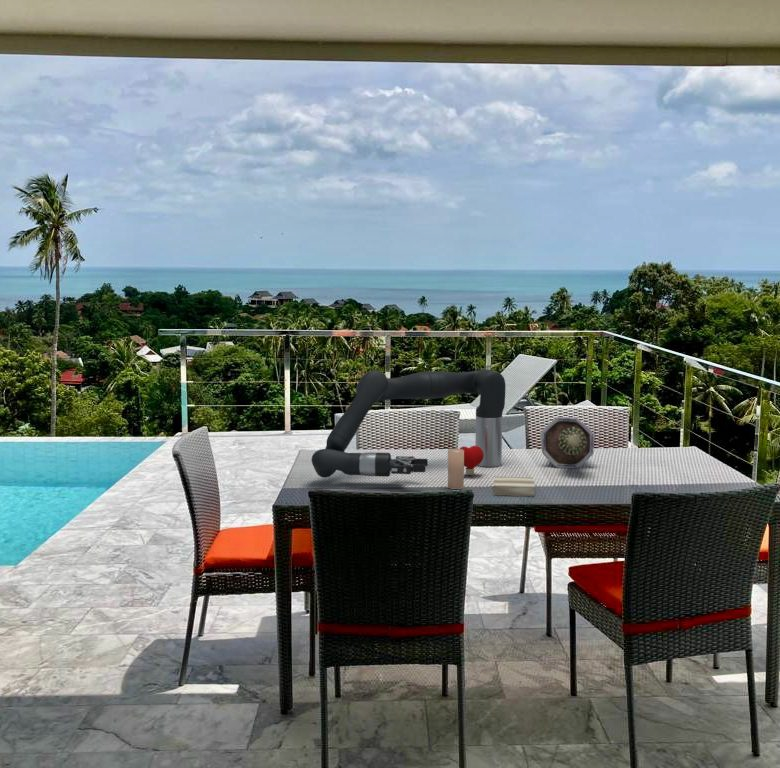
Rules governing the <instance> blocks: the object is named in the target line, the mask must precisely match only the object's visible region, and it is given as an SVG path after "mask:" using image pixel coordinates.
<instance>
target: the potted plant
mask: <svg viewBox="0 0 780 768" xmlns="http://www.w3.org/2000/svg"><path fill="white" fill-rule="evenodd" d="M540 435H541V436H540V439H541V453H542V454H543V456H544V457H545V458H546V459H547V461H549V462H550V463H551V464H552V465H553V466H554V467H555V468H557V467H558V469H579V468H581V467H582V466H583V465H584V464H585V463H586V462H587V461H589V460H590V458H591V457H592V456H593V455H594V444H595V443H594V433H593V431H592V430H591V429H590V428H589V427H588V426H587V425H586V424H585V423H584V422H582V421H581V420H580V419H579V418H576V417H562V416H561V417H560V416H559V417H558V416H557V417H555V418H554V419H553V420H551V421H550V423H549V424H547V425H546V426H545V427H544V428H543V429H542V430H541V434H540Z"/></svg>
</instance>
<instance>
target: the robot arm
mask: <svg viewBox="0 0 780 768" xmlns="http://www.w3.org/2000/svg"><path fill="white" fill-rule="evenodd" d="M506 386H507V385H506V380H505V377H504V376H503V375H502V373H500V372H498V371H495V370H491V369H479V370H472V371H465V372H456V371H455V372H454V371H439V370H438V371H437V370H436V371H420V372H416V373H415V372H414V373H411V374H406V375H404V376H400V377H393V378H392V377H389V378H388V377H387V375H386V374H385V373H384V372H382V370H381V371H380V370H378V369H372V370H369V371H367V372H365V373H364V374H363V375H362V377H361V378H360V380H359V381H358V383H356V387H355V388H356V391H355V392H356V394H355V395H354V398H353V399H352V401H351V403H350V404H349V406H348V407H347V408H346V410H345V412H343V414H342V415H341V416H340V418H339V419H338V421H337V422H336V424H335V425H334V427H333V429H332V430H331V431H330V433H329V434H328V436H327V439H326V445H325V448H322V449H321V448H320V449H318V450H316V451H315V452H314V453H313V454H312V457H311V464H312V466H313V469H314V471H315V473H316V474H317V475H318V477H320V478H324V479H325V478H330V477H331V476H332V475H334V474H335V473H336V471H340V472H342V473H343V474H345V475H348V476H364V477H384V478H385V477H390V476H391V474H392V475H393V474H394V475H395V474H396V475H410V474H414V473H425V472H426V471H427V470H426V467H427V466H428V465H429V460H428V458H417V457H415V456H413V455H412V456H410V455H409V456H407V455H406V456H398V455H397V456H395V458H392V455H391V453H390V452H377V451H375V452H370V451H369V452H345V451H346V449H347V448H348V446H349V445H350V443H351V441H353V438H354V437H355V435H356V433H357V431H358V429H360V427H361V424H362V423H363V421H364V419H365V417H366V416H367V414H368V413H369V411H370V410H371V408H372V407H373V405H375V404H376V402H382V401H389V400H397V399H400V400H401V399H403V400H409V399H410V400H413V399H415V400H416V399H423V400H424V399H427V400H428V399H429V400H431V399H443V398H447V397H450V396H451V397H452V396H454V395H458V394H459V395H460V394H474V395H479V396H480V398H479V405H477V406H476V408H475V442H474V443H475V444H474V446H478V447H480V448H481V449H482V451H483V453H484V457H483V460H482V462H481V463H480V464H479V465H477V467H478V466H479V467H485V468H488V467H489V468H495V467H496V468H497V467H500V466H502V462H503V461H502V455H503V454H502V452H503V411H504V410H505V404H506V389H507V388H506Z"/></svg>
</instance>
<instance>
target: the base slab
mask: <svg viewBox="0 0 780 768" xmlns="http://www.w3.org/2000/svg"><path fill="white" fill-rule="evenodd" d="M493 479H494V483H493V487H494V489H493V490H494V491H493V492H494V494H493V495H511V496H510V497H526V496H535V490H536V487H535V481H534V477H530V476H529V477H527V476H523V477H522V476H521V477H520V476H494V477H493Z"/></svg>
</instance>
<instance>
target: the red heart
mask: <svg viewBox="0 0 780 768" xmlns="http://www.w3.org/2000/svg"><path fill="white" fill-rule="evenodd" d="M459 449H463V450H464V468H465V475H467V476H468V477H472V476H473V475H475V468H476V467H478V465H479V464H480V463H481V462H482V460H483V457H484V453H483V451H482V449H481V448H480V447H478V446H475V445H473V446H470V447H468V446H461V447H459Z"/></svg>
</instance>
